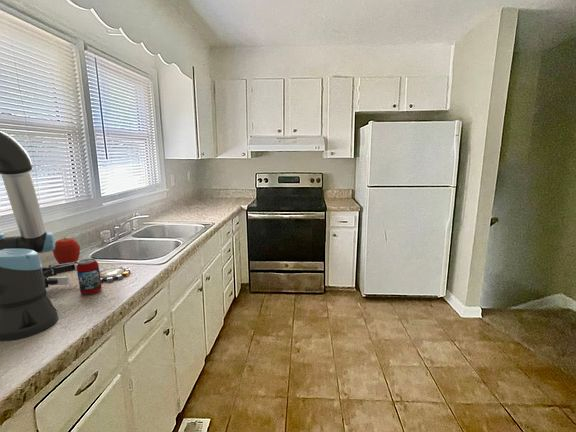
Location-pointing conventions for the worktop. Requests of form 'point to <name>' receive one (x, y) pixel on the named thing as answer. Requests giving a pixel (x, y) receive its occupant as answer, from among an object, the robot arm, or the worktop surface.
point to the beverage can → (89, 276)
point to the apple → (66, 251)
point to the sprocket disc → (113, 273)
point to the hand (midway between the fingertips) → (80, 273)
